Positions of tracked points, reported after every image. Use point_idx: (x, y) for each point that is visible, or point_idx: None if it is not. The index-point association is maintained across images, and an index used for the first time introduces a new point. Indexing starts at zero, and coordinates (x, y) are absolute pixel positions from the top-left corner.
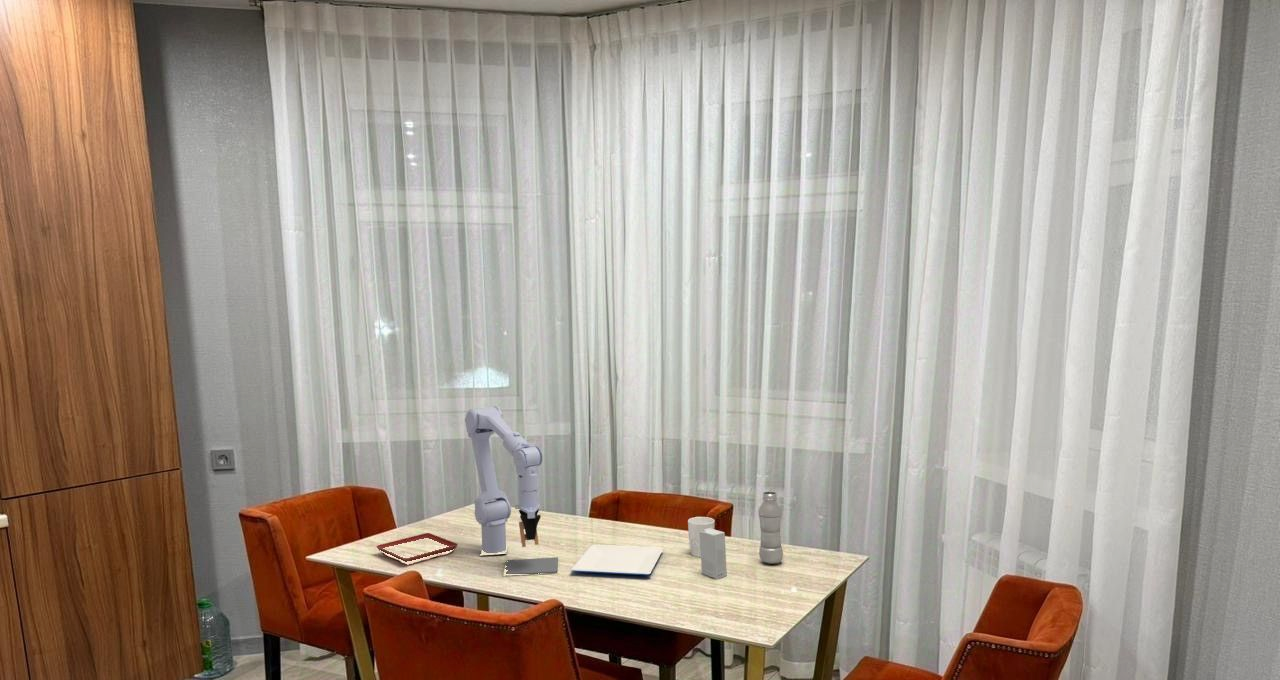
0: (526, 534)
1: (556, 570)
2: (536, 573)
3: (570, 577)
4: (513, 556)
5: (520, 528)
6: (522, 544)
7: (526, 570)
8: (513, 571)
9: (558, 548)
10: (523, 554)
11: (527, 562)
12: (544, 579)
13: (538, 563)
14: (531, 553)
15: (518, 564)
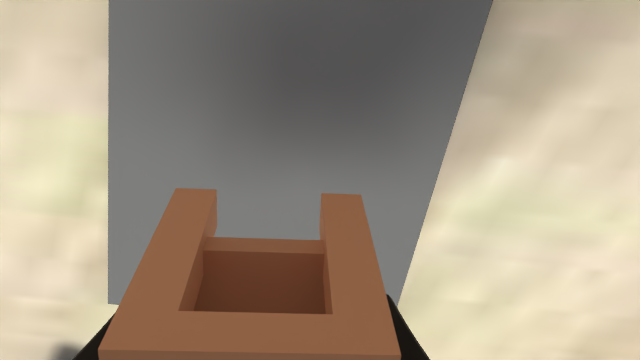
0: (101, 333)
1: None
2: (111, 179)
3: (30, 346)
4: (609, 54)
5: (110, 332)
6: (170, 206)
7: (171, 120)
8: (168, 17)
9: (596, 348)
10: (611, 134)
11: (360, 146)
12: (8, 212)
13: (307, 215)
14: (598, 190)
15: (336, 75)
